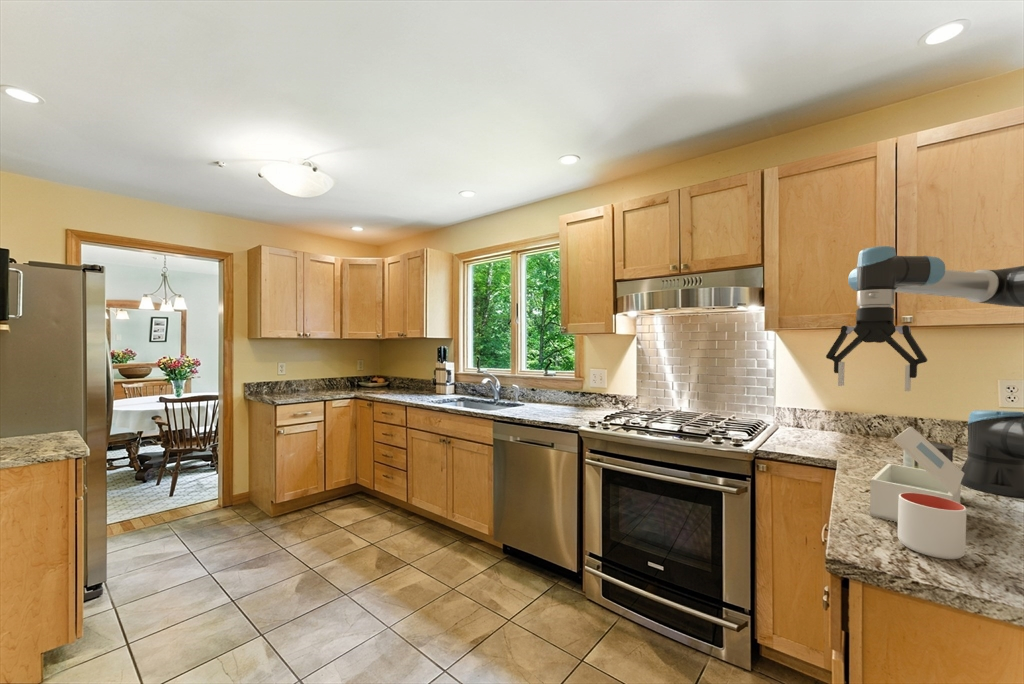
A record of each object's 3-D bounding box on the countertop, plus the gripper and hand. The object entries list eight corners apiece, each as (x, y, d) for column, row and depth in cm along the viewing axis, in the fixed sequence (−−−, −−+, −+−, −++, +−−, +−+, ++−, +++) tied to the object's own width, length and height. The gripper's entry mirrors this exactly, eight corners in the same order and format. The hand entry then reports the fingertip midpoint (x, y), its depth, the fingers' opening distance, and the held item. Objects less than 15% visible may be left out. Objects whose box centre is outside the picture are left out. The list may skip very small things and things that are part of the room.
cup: (949, 566, 82) (951, 514, 82) (886, 543, 92) (888, 495, 91) (975, 556, 86) (976, 506, 86) (912, 535, 96) (914, 490, 95)
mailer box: (869, 515, 106) (870, 479, 105) (887, 495, 120) (888, 463, 120) (951, 536, 95) (952, 495, 95) (959, 511, 109) (961, 476, 109)
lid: (892, 439, 102) (896, 437, 102) (908, 427, 117) (911, 425, 116) (952, 494, 95) (956, 492, 94) (961, 474, 109) (964, 473, 109)
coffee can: (933, 489, 126) (935, 440, 126) (962, 502, 116) (964, 449, 116) (892, 486, 128) (894, 438, 128) (917, 498, 118) (919, 447, 118)
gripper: (814, 308, 120) (812, 384, 121) (939, 304, 101) (937, 394, 102) (822, 309, 125) (820, 382, 125) (943, 305, 106) (941, 392, 106)
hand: (872, 388), depth 113 cm, fingers open, 13 cm apart
